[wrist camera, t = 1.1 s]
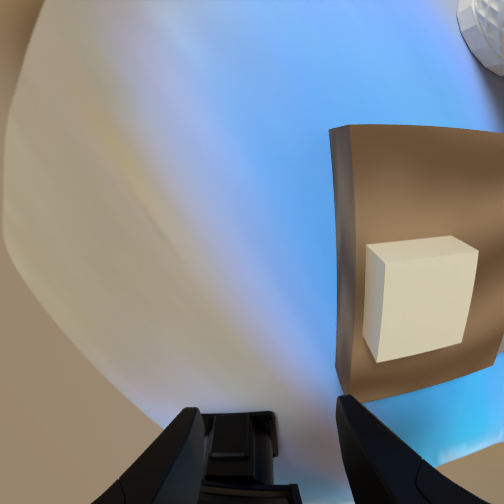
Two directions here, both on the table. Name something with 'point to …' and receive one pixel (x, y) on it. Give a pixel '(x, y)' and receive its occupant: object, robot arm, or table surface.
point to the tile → (417, 295)
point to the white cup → (484, 31)
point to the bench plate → (416, 227)
